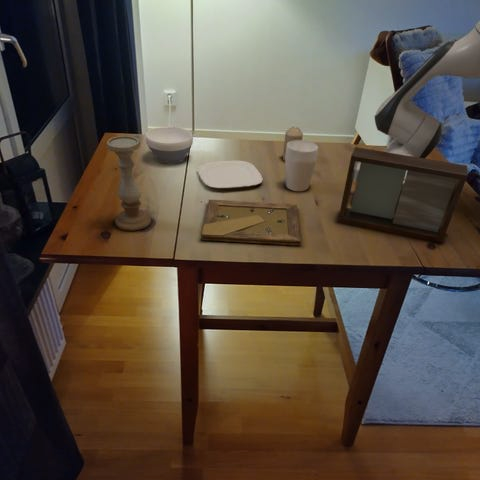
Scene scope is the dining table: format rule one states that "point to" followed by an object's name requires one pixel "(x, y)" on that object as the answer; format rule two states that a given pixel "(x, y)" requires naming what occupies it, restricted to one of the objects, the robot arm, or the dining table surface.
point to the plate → (229, 174)
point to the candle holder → (128, 185)
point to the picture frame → (251, 222)
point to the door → (377, 190)
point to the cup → (300, 164)
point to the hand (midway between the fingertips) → (390, 189)
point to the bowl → (169, 143)
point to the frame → (411, 195)
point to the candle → (292, 137)
